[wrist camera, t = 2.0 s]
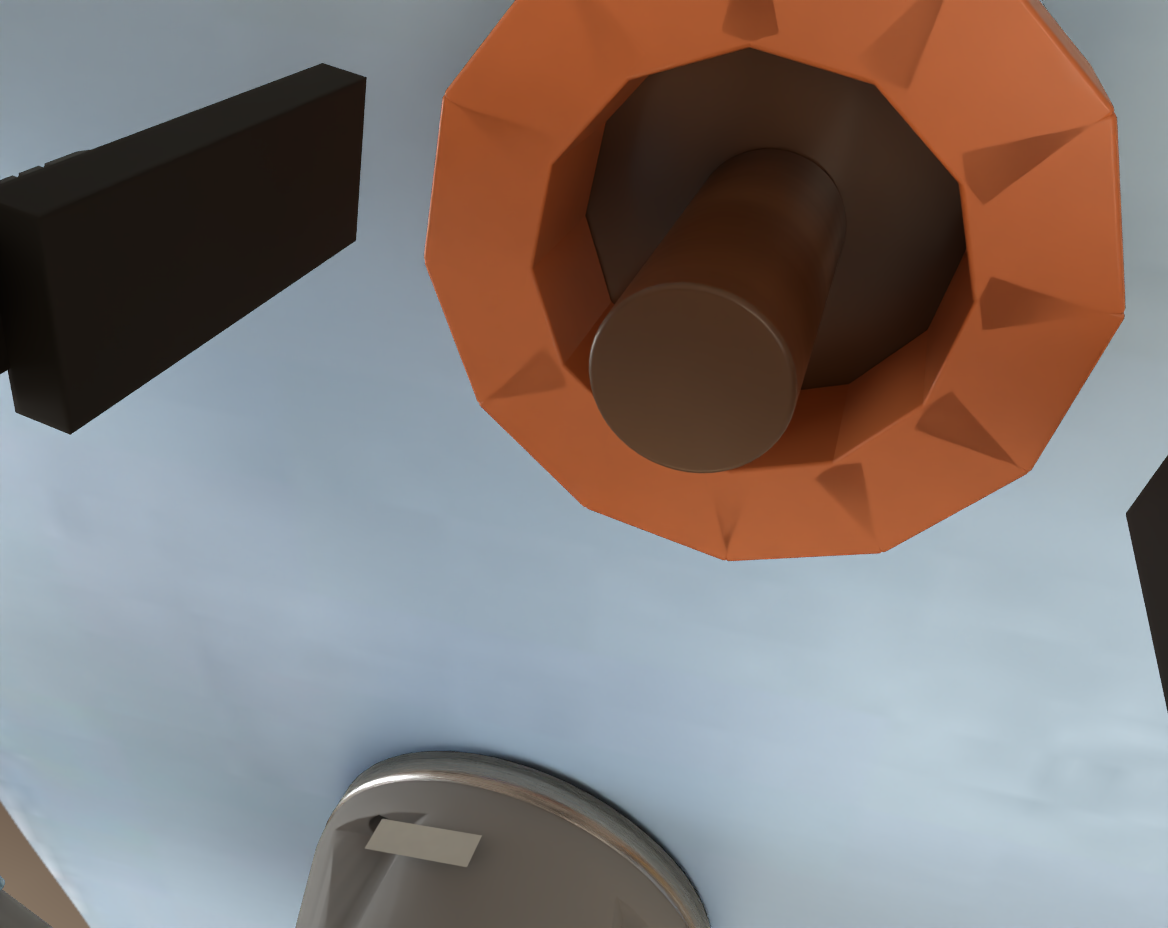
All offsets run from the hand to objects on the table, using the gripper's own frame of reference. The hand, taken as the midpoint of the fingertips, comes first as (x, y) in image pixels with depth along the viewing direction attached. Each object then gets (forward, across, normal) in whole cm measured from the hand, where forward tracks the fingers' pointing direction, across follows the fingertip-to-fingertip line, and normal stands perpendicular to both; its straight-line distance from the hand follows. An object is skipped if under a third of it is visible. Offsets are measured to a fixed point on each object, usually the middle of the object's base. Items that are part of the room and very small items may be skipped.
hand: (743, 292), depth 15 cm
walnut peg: (+7, 0, 0) cm, 7 cm away
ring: (+4, 0, 0) cm, 4 cm away
